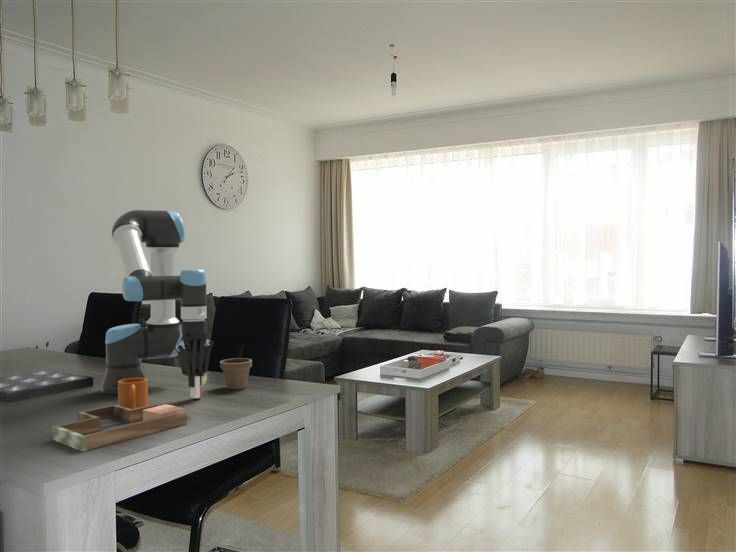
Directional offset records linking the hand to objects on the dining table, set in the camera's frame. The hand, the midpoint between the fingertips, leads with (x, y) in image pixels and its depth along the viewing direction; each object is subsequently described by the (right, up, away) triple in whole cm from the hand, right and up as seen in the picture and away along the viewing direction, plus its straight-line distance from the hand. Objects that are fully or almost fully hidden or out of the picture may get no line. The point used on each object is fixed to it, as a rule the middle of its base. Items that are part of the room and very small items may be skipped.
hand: (195, 397), depth 181 cm
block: (-7, -6, -8) cm, 12 cm away
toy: (-5, -5, +19) cm, 20 cm away
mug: (-21, -5, +6) cm, 23 cm away
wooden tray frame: (-18, -6, -15) cm, 24 cm away
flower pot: (+5, -4, +36) cm, 37 cm away
